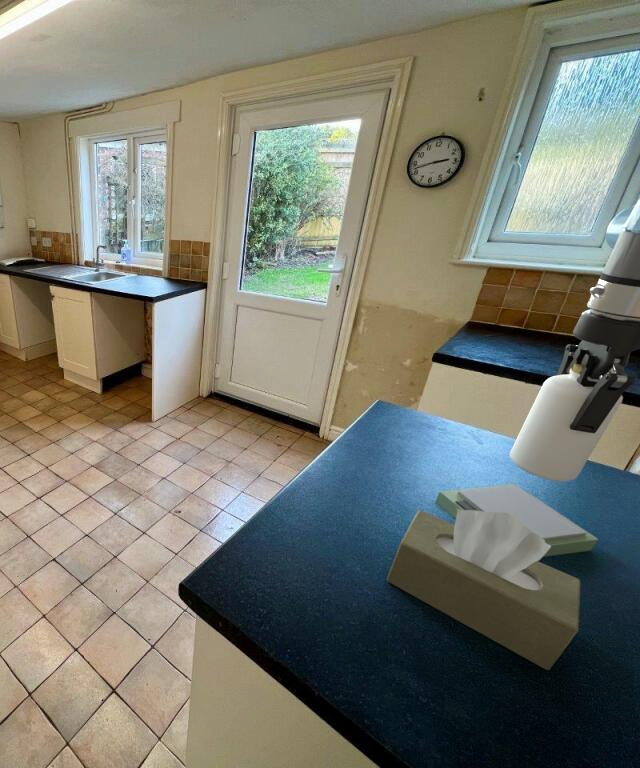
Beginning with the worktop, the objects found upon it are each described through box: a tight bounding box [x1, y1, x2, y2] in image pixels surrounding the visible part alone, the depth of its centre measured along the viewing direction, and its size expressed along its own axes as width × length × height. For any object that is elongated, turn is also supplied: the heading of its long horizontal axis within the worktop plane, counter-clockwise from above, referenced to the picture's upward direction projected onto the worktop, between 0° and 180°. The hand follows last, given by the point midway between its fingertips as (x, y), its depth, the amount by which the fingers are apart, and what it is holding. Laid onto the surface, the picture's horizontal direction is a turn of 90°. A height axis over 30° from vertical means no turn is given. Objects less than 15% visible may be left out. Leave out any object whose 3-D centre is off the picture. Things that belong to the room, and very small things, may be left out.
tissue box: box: [386, 508, 582, 671], centre depth 56 cm, size 19×10×16 cm, turn 44°
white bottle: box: [509, 363, 624, 482], centre depth 64 cm, size 8×8×18 cm
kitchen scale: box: [434, 483, 599, 558], centre depth 72 cm, size 16×14×3 cm
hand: (547, 455), depth 67 cm, fingers open, 2 cm apart
